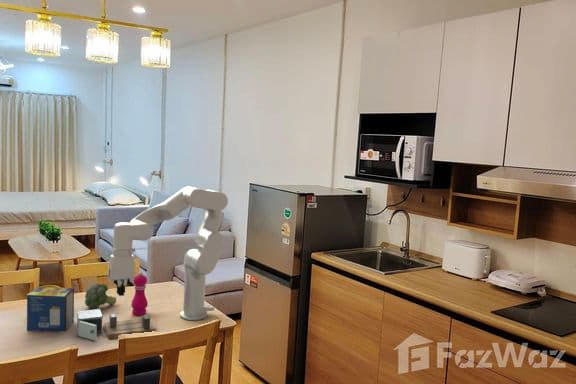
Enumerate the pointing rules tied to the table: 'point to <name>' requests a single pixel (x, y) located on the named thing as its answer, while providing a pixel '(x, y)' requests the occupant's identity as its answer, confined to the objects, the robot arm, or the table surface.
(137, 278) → the pepper mill
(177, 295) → the table surface
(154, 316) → the table surface
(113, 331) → the fader board
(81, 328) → the door
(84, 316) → the box
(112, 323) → the fader knob
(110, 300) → the vegetable
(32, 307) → the protein box
